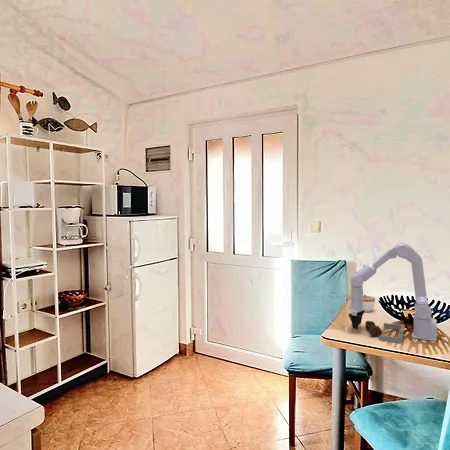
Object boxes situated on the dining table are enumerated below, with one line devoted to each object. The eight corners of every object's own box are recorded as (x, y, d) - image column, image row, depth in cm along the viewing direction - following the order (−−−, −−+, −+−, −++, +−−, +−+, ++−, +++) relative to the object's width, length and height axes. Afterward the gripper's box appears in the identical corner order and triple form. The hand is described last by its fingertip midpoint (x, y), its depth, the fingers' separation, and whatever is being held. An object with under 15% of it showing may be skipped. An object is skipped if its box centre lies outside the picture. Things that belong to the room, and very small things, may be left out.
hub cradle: (404, 329, 175) (404, 323, 175) (401, 343, 156) (401, 337, 156) (383, 326, 179) (384, 321, 179) (378, 340, 161) (378, 333, 161)
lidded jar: (351, 309, 212) (351, 293, 212) (364, 307, 217) (364, 292, 216) (365, 314, 202) (365, 297, 202) (379, 311, 207) (379, 295, 207)
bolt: (370, 331, 179) (377, 340, 164) (360, 325, 179) (367, 334, 165) (376, 321, 178) (384, 329, 163) (366, 316, 179) (374, 324, 164)
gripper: (351, 295, 183) (351, 321, 184) (345, 301, 171) (345, 329, 171) (365, 296, 180) (365, 323, 180) (360, 303, 167) (360, 331, 168)
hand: (356, 326), depth 175 cm, fingers open, 7 cm apart
